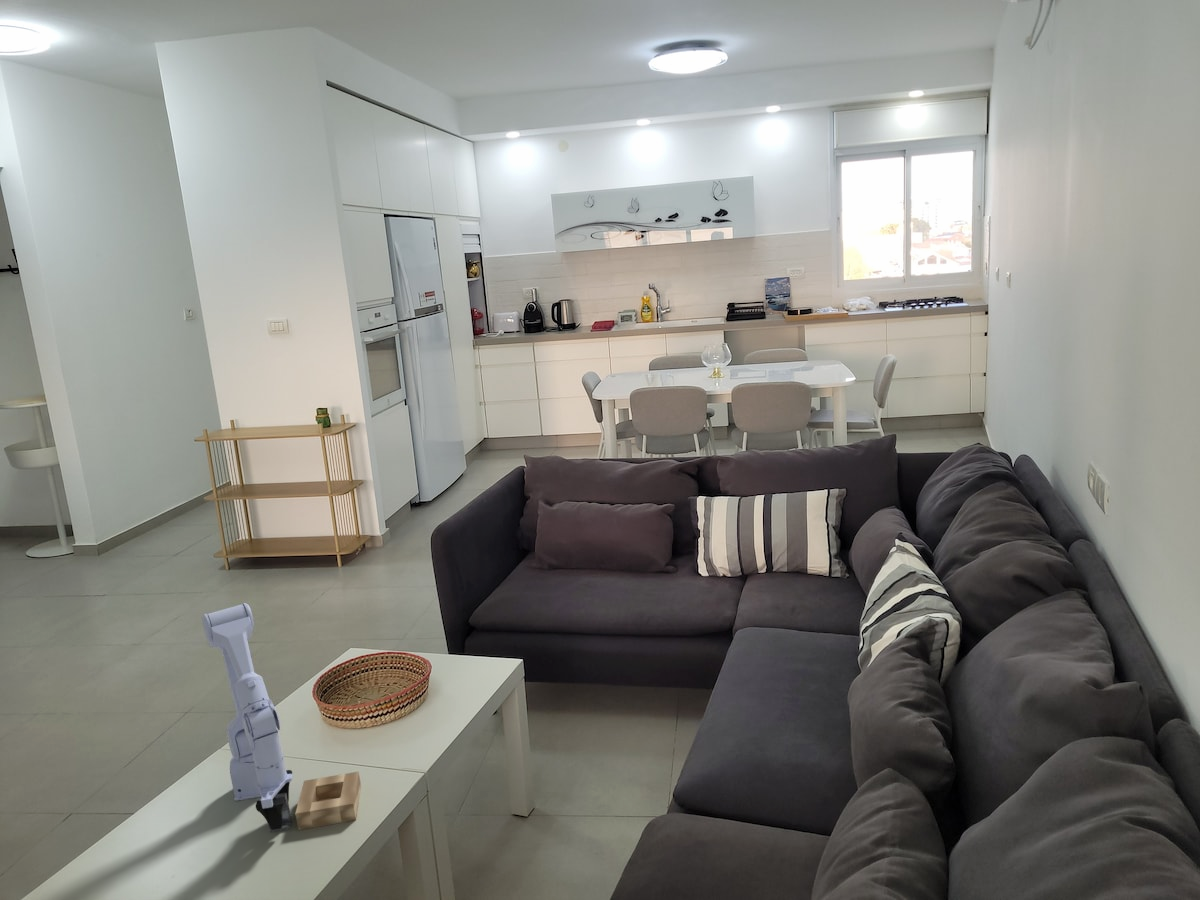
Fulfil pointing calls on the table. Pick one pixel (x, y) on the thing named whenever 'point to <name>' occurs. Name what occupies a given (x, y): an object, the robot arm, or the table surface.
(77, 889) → the table surface
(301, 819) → the well block
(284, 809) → the grey block
